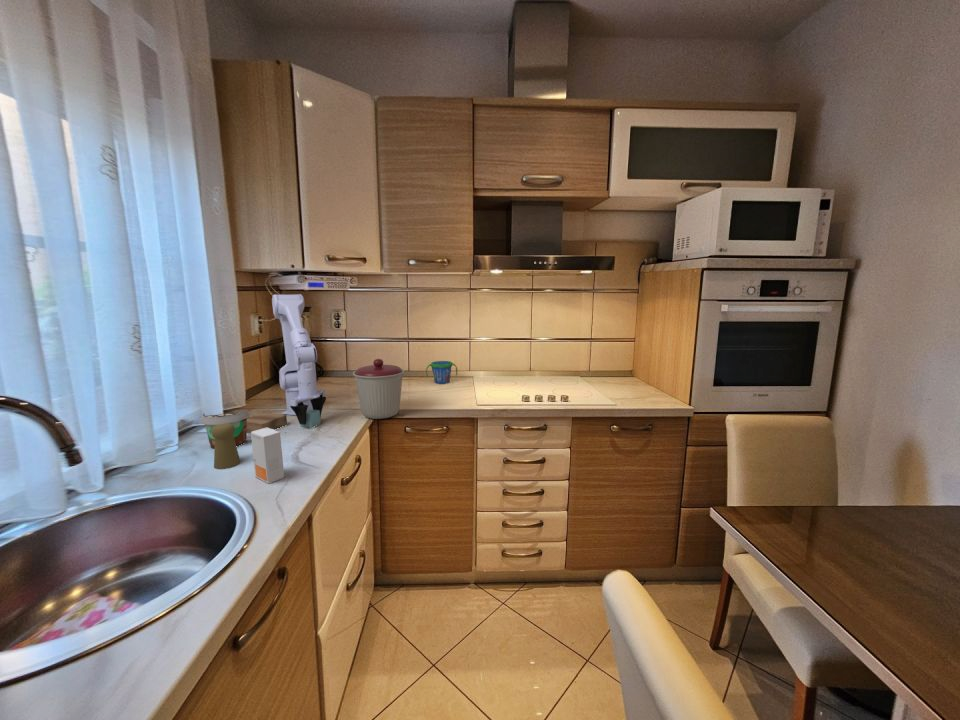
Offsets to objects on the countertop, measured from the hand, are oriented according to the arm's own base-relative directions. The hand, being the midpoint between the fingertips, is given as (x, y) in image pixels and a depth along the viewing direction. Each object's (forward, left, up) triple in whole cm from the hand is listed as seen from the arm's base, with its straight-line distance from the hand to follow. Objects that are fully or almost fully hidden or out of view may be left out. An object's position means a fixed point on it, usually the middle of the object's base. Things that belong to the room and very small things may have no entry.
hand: (310, 420), depth 135 cm
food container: (+23, -11, -2) cm, 26 cm away
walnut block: (+7, -13, -2) cm, 15 cm away
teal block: (0, 0, -2) cm, 2 cm away
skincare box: (+35, +17, -2) cm, 39 cm away
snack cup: (-72, +19, -2) cm, 74 cm away
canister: (-17, +17, -2) cm, 24 cm away
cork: (+32, 0, -2) cm, 32 cm away
